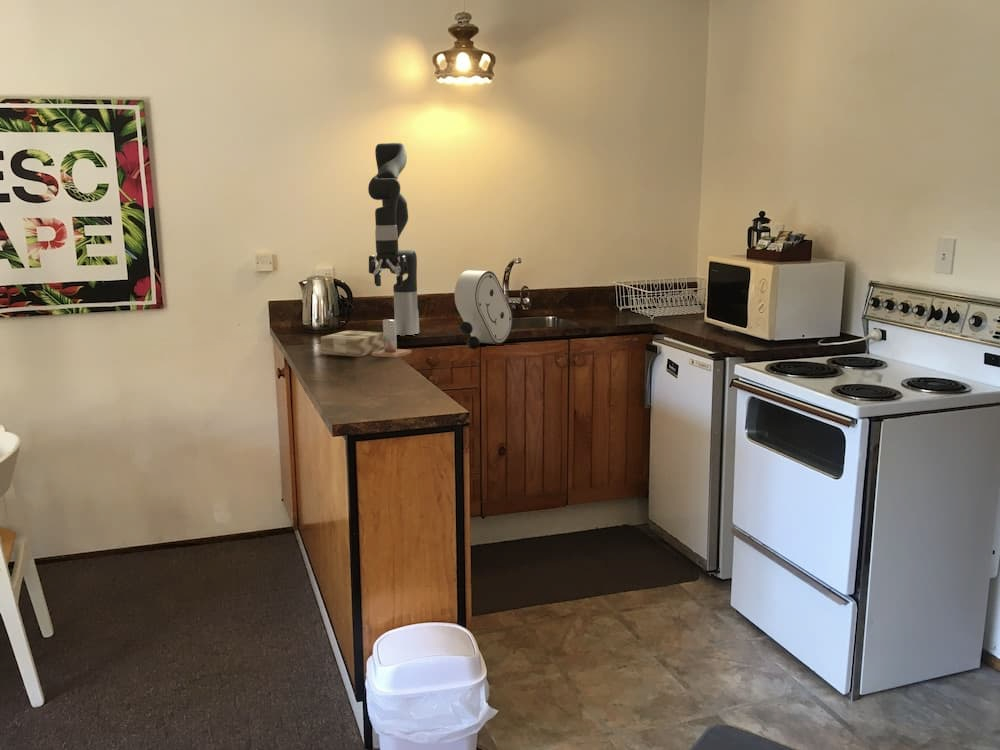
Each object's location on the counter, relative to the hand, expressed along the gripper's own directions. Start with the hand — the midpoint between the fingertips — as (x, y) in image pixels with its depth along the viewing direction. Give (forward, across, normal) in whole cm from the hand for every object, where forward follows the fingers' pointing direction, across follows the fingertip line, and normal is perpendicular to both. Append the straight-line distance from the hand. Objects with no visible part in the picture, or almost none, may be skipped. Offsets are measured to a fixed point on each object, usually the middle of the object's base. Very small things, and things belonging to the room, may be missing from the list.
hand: (388, 286), depth 297 cm
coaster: (+24, 0, 0) cm, 24 cm away
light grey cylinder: (+23, 0, 0) cm, 23 cm away
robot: (+24, -22, -27) cm, 42 cm away
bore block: (+24, +16, 0) cm, 29 cm away
